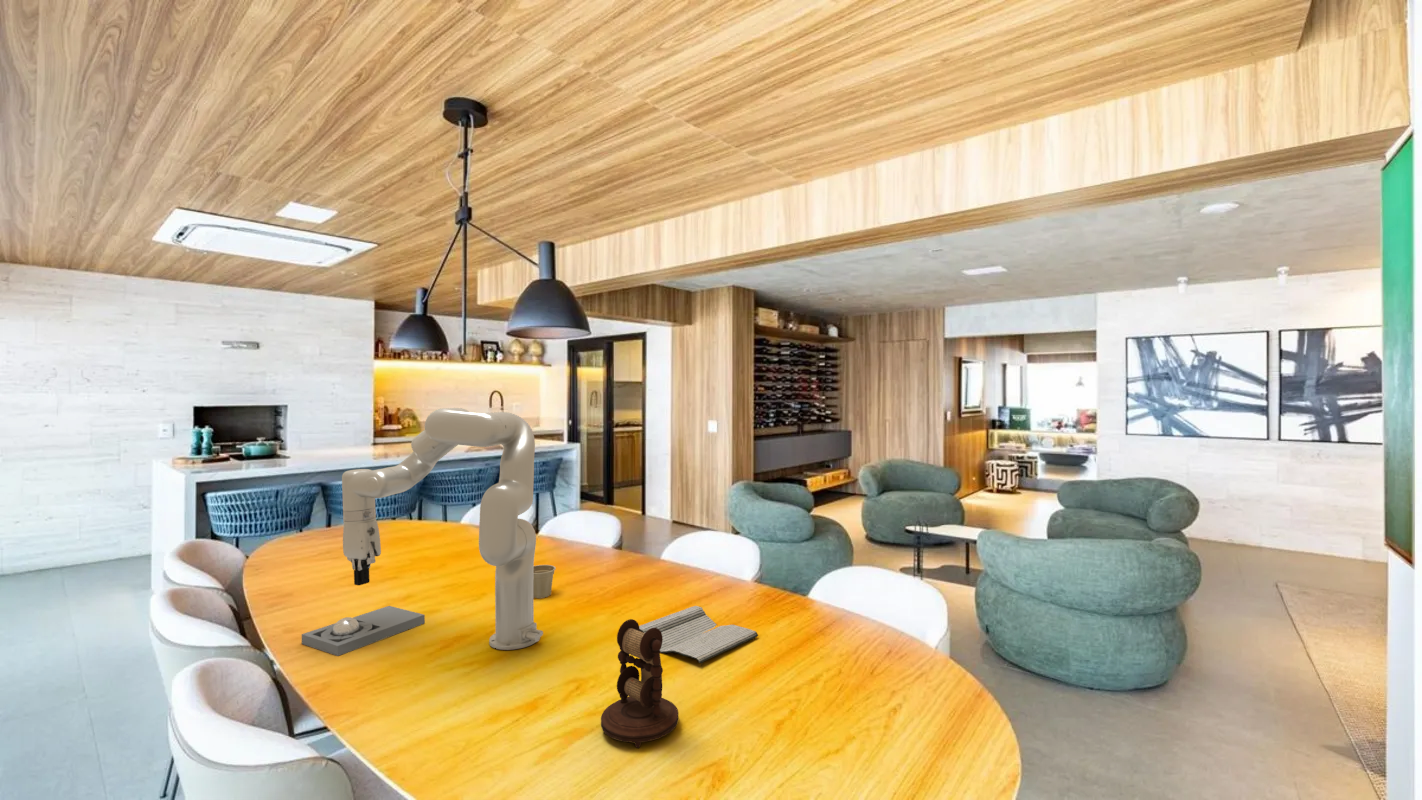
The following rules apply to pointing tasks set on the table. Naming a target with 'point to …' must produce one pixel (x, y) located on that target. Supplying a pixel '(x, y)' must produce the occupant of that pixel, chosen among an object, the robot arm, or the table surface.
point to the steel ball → (346, 627)
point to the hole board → (364, 630)
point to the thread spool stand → (639, 690)
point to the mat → (697, 634)
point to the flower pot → (542, 580)
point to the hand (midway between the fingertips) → (361, 583)
